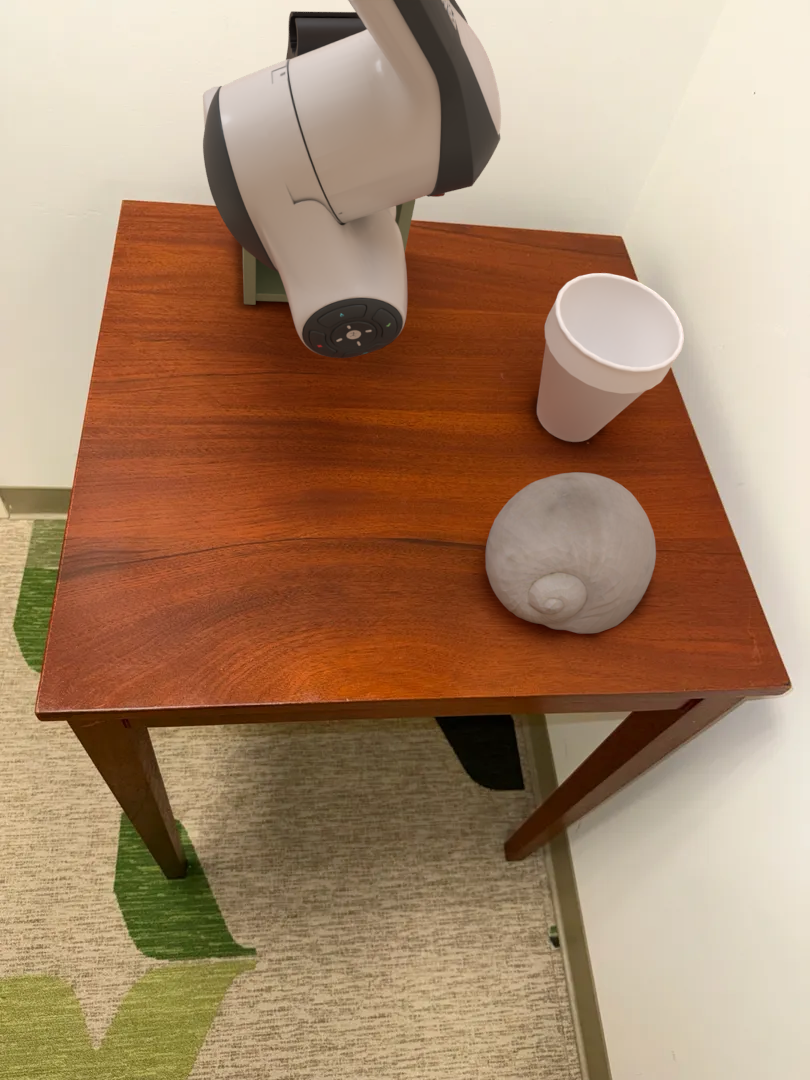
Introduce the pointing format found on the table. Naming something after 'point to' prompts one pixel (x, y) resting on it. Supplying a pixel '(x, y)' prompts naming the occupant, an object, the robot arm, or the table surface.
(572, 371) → the cup
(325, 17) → the phone stand
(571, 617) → the seashell
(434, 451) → the table surface
